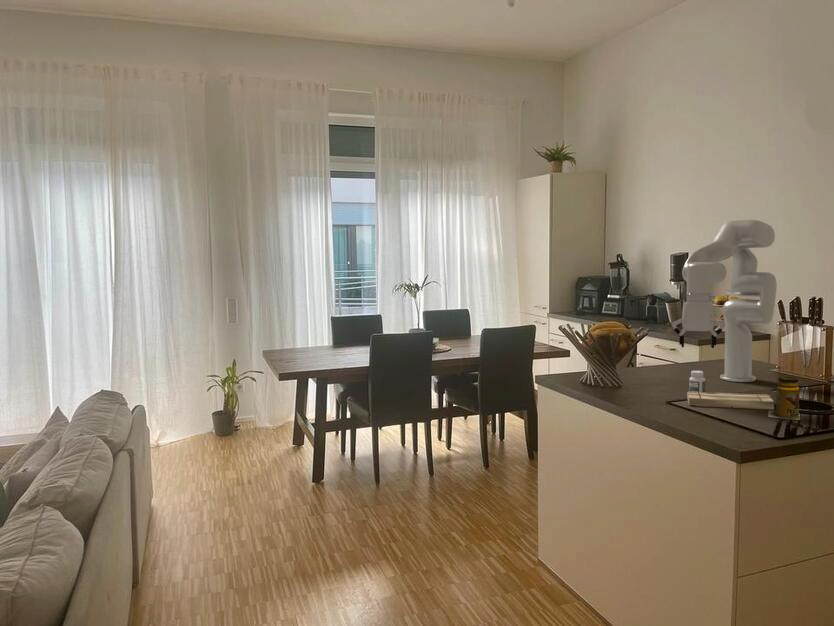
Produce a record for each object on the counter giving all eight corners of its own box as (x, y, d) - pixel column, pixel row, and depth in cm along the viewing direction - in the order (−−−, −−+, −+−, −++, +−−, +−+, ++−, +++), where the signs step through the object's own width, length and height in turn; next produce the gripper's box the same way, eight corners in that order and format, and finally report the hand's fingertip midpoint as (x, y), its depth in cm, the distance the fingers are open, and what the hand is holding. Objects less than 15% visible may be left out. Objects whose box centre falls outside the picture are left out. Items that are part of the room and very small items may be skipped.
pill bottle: (701, 394, 225) (701, 369, 225) (708, 397, 220) (708, 372, 219) (686, 394, 225) (686, 370, 224) (693, 398, 220) (693, 373, 219)
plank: (687, 398, 220) (687, 391, 219) (768, 402, 211) (768, 394, 211) (689, 405, 210) (689, 397, 210) (773, 409, 202) (774, 401, 202)
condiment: (800, 420, 189) (801, 381, 188) (768, 417, 193) (768, 379, 192) (799, 414, 195) (800, 376, 194) (768, 411, 200) (769, 374, 198)
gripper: (724, 297, 220) (723, 346, 221) (671, 297, 226) (670, 345, 227) (726, 299, 213) (726, 349, 214) (671, 299, 219) (671, 348, 220)
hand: (697, 347), depth 221 cm, fingers open, 9 cm apart
